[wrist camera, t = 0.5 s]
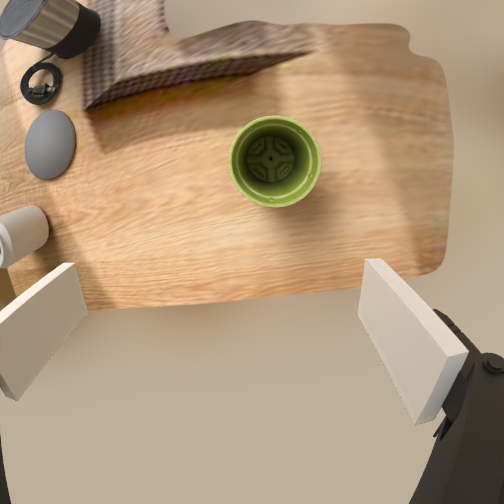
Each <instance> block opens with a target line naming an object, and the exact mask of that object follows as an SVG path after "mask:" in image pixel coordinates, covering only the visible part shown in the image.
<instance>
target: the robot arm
mask: <svg viewBox="0 0 504 504" xmlns="http://www.w3.org/2000/svg"><path fill="white" fill-rule="evenodd" d="M87 314H88V311H87V307H86V304H85V300H84V297H83V293H82V289H81V285H80V281H79V277H78V273H77V269H76V265H75V263H63V264H61V265H60V266H58V267H57V268H56V269H54V270H53V271H51V272H50V273H49V274H47V275H46V276H45V277H43V278H42V279H41V280H39V281H38V282H37V283H35V284H34V285H33V286H31V287H30V288H29V289H28V290H26V291H25V292H24V293H22V294H21V295H20V296H19V297H17V298H16V299H15V300H14V301H12V302H11V303H10V304H9V305H8V306H6V307H5V308H4V309H3V310H2V311H0V388H1V389H2V391H3V392H4V394H5V396H7V397H9V398H11V399H13V400H15V401H18V400H19V399H20V398H21V396H22V395H23V393H24V392H25V391H26V389H27V388H28V387H29V385H30V384H31V383H32V381H33V380H34V379H35V377H36V376H37V375H38V374H39V372H40V371H41V370H42V368H43V367H44V366H45V365H46V363H47V362H48V361H49V360H50V358H51V357H52V356H53V354H54V353H55V352H56V351H57V350H58V348H59V347H60V346H61V345H62V343H63V342H64V341H65V340H66V339H67V338H68V336H69V335H70V334H71V333H72V332H73V330H74V329H75V328H76V327H77V326H78V324H79V323H80V322H81V321H82V320H83V319H84V318H85V316H86V315H87ZM357 315H358V317H359V319H360V321H361V323H362V324H363V326H364V328H365V330H366V332H367V333H368V335H369V337H370V339H371V341H372V342H373V345H374V346H375V348H376V350H377V352H378V354H379V356H380V358H381V360H382V362H383V363H384V365H385V368H386V370H387V371H388V373H389V375H390V377H391V379H392V381H393V383H394V385H395V387H396V389H397V391H398V393H399V395H400V398H401V399H402V402H403V404H404V406H405V408H406V410H407V412H408V414H409V416H410V418H411V420H412V423H413V425H414V426H415V425H418V424H422V423H425V422H429V421H432V420H434V419H435V417H436V416H437V414H438V412H439V410H440V409H441V407H442V408H443V410H444V412H445V414H446V416H445V418H444V420H443V421H442V423H441V424H440V426H439V427H438V429H437V430H436V432H435V434H434V435H433V437H436V436H437V434H438V436H437V439H436V442H435V444H434V448H433V450H432V453H431V455H430V458H429V461H428V463H427V465H426V468H425V470H424V472H423V475H422V477H421V479H420V482H419V484H418V486H417V488H416V490H415V492H414V494H413V496H412V498H411V500H410V502H409V504H504V358H502V357H501V356H499V355H496V354H494V353H483V354H481V353H480V351H479V350H478V349H477V348H476V347H475V346H474V345H473V343H472V342H470V340H469V339H468V338H467V337H466V336H465V335H464V333H463V332H461V330H460V329H459V328H458V327H457V326H455V325H454V323H453V322H452V321H451V319H449V317H448V316H447V315H445V314H443V313H441V312H440V311H438V310H436V309H434V310H432V309H431V308H430V307H429V306H428V305H427V304H426V303H425V302H424V301H423V300H422V299H421V298H420V297H419V296H418V295H417V294H416V292H414V290H413V289H412V288H411V287H410V286H408V284H407V283H406V282H405V281H404V280H403V279H402V278H401V277H400V276H399V275H398V274H397V273H396V272H395V271H394V270H393V269H392V268H391V267H390V266H389V265H388V264H386V263H385V262H384V261H383V260H382V259H381V258H377V259H365V265H364V273H363V280H362V287H361V295H360V301H359V308H358V313H357ZM0 504H11V501H10V496H9V492H8V487H7V482H6V477H5V470H4V464H3V456H2V447H1V437H0Z"/></svg>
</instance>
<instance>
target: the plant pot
mask: <svg viewBox="0 0 504 504" xmlns="http://www.w3.org/2000/svg"><path fill="white" fill-rule="evenodd" d="M278 142H281V143H283V144H284V145H285V146H286V149H284V148H283V147H282V146H281V145H280V144H279V143H278ZM258 143H260V144H261V145H260V146H259V147H258V148H257V149H256V150H255V151H253V149H254V147H255V146H256V145H257V144H258ZM269 157H272V158H273V160H272V161H270V160H269ZM321 162H322V157H321V151H320V148H319V145H318V143H317V140H316V139H315V137H314V136H313V134H312V133H311V132H310V131H309V130H308V129H307V128H306V127H305V126H304V125H302V124H301V123H299V122H298V121H296V120H293V119H291V118H288V117H283V116H266V117H262V118H258V119H256V120H254V121H252V122H250V123H249V124H247V125H246V126H245V127H244V128H243V129H242V130H241V131H240V132H239V133H238V134H237V136H236V137H235V139H234V141H233V143H232V145H231V148H230V152H229V170H230V174H231V177H232V180H233V182H234V184H235V185H236V187H237V188H238V190H239V191H240V192H241V193H242V194H243V195H244V196H245V197H247V198H248V199H249V200H251V201H253V202H255V203H257V204H259V205H262V206H266V207H285V206H289V205H292V204H294V203H296V202H298V201H300V200H301V199H303V198H304V197H305V196H306V195H307V194H308V193H309V192H310V191H311V190H312V189H313V187H314V186H315V184H316V182H317V180H318V178H319V175H320V171H321ZM286 166H288V169H287V171H286V172H285V173H284V174H280V173H281V172H282V171H283V170H284V169H285V167H286ZM255 168H257V170H258V171H259V172H261V173H262V174H263V175H262V176H261V175H260V174H258V173H256V171H255Z"/></svg>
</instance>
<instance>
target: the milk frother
mask: <svg viewBox="0 0 504 504" xmlns="http://www.w3.org/2000/svg"><path fill="white" fill-rule="evenodd" d="M99 26H100V19H99V16H98V14H97V13H96V12H95V11H93V10H90V9H88V8H86V7H84V6H83V5H81V4H80V3H78V2H77V1H76V0H10V1H9V2H8V4H7V5H6V6H5V9H4V10H3V13H2V14H1V16H0V38H1V39H4V40H7V39H13V40H16V41H19V42H23V43H26V44H29V45H32V46H36V47H39V48H42V49H45V50H47V51H50V52H52V53H51V54H50V55H48V56H47V57H45V58H44V59H42V60H40V61H39V62H37V63H36V64H34V65H33V66H32V67H30V68H29V69H28V70H27V71H26V73H25V74H24V76H23V77H22V80H21V84H20V90H21V92H22V95H23V96H24V98H25V99H26V100H27V101H28V102H30V103H32V104H35V105H40V104H44V103H46V102H48V101H49V100H51V99H52V98H53V96H54V95H55V94H56V92H57V90H58V87H59V84H60V72H59V70H58V68H57V67H56V66H55V65H54V64H52V63H47V62H44V63H41V62H43V61H44V60H46V59H48V58H50V57H51V56H53V55H54V54H56V55H57V56H58V57H60V58H63V59H68V58H72V57H74V56H76V55H78V54H80V53H81V52H83V51H84V50H85V49H86V48H87V47H88V46H89V45H90V44H91V43H92V41H93V40H94V38H95V36H96V34H97V32H98V30H99ZM41 69H46V70H49V71H50V72H51V73H52V75H53V86H52V87H50V86H49V85H48V84H47V83H45V84H44V85H43V86H38V87H36V86H35V87H34V88H29V84H28V83H29V80H30V78H31V77H32V75H33V74H34V73H35V72H37V71H38V70H41ZM34 95H35V96H34ZM36 95H43V96H42V97H36Z"/></svg>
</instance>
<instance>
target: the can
mask: <svg viewBox="0 0 504 504" xmlns="http://www.w3.org/2000/svg"><path fill="white" fill-rule="evenodd" d="M48 235H49V227H48V222H47V219H46V216H45V215H44V213H43V212H42V210H41V209H40V208H38V207H37V206H34V205H29V206H26V207H23V208H20V209H18V210H15V211H12V212H10V213H7V214H5V215H2V216H0V268H7V267H9V266H10V265H12V264H14V263H15V262H17V261H18V260H20V259H22V258H23V257H25V256H27V255H28V254H30V253H32V252H33V251H35V250H37V249H38V248H40V247H42V246H43V245H44V244H45V243H46V241H47V239H48Z"/></svg>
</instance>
